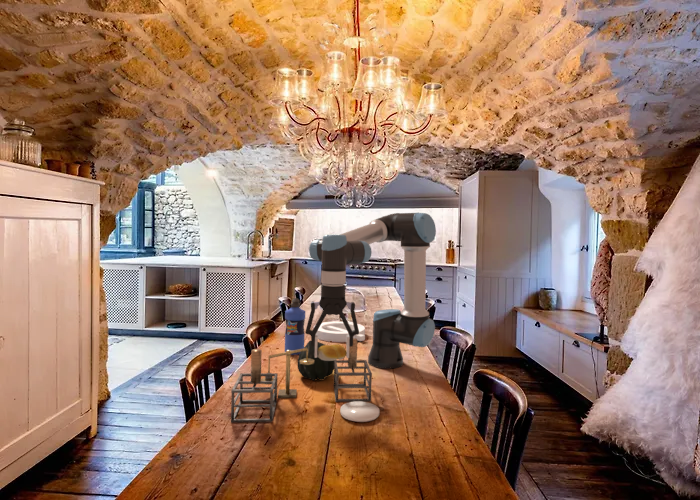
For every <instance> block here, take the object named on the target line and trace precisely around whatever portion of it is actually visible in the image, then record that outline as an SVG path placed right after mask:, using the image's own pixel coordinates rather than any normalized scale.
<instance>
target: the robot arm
mask: <svg viewBox="0 0 700 500" xmlns="http://www.w3.org/2000/svg"><path fill="white" fill-rule="evenodd" d="M432 217H433V216H431V215H430V214H429V213H426V212H425V213H424V212H404V213H403V212H402V213H400V212H395V213H389V214H387V215H384V216H381V217H378V218H376V219H373V220H371V221H370V222H369V224H366V225H363V226H360V227H357V228H355V229H351V230H348V231H346V232H343V233H341V234H324V235H323V236H322V238H319V239H314V240H312V241H311V243H310V244H309V248H308V252H309V256H310V258H311V259H312V260H315V261H318V262H321V271H320V272H321V275H320V276H321V277H320V280H321V281H320V283H321V284H322V285H321V287H320V299H319V301H311V303H310V313H309V318H308V321H307V325H306V328H305V331H304V333H305V334H306V335H310V338H311V339H310V340H311V346H315V358H317V343H318V342H319V341H318V340H319V339H318V334H316V333H317V331H318V329H319V327H320V325H321V323H324V320H325V318H326V317H327V315H328V316H331V315H335V316H338V315H339V317H340V319H341V322H343V323H344V325H345V327H346V329H347V331H348V333H349V335H347V342H345V345H346V348H345V350H346V356H345V358H347V359H348V358H349V346H353V336H354V335H356V334H357V335H358V334H359V329H358V325H357V324H358V321H357V316H356V311H355V308H356V304H355V302H354V301H351V302H350V301H347V300H346V286H345V284H346V283H347V282H346V281H347V277H346V276H347V265H361V264H364V263H367V262H368V261H369V260H370V259H371V257H372V248H371V244H374V243H383V242H400V247H401V249H403V251H404V253H403V254H404V257H403V259H404V262H403V263H404V266H403V269H404V271H403V272H404V274H403V275H404V277H403V278H404V279H403V280H404V281H403V286H404V287H403V290H404V291H403V293H404V294H403V295H404V297H403V309H402V310H401V309H398V308H395V309H391V308H389V309H387V308H386V309H380V310H376V311H375V312H374V313H373V319H372V325H373V327H372V345H371V349H370V351H369V354H368V358H367V363H368V365H370V366H371V367H375V368H381V369H396V368H397V369H398V368H401V367H402V366H403V365H404V357H403V354H402V353H403V352H402V350H401V347H400V344H405V345H409V346H411V347H418V348H419V347H420V348H425V347H427V346H429V344H430V343H431V341H432V340H433V337H434V335H435V330H436V324H435V321H434V320H433V319H432V318H430V312H429V311H428V310H427V309H426V302H427V301H426V289H427V288H426V287H427V286H426V285H427V284H426V278H427V277H426V276H427V272H426V271H427V270H426V269H427V268H426V267H427V250H428V249H429V248H430V246H431V245H430V244H431V243H433V242H434V241H435V239H436V238H435V237H436V234H437V228H436V227H437V226H436V223H435V220H434V219H433V218H432ZM319 307H320V308H321V309H322V311H321V314H320V316H319V318H318V320H317V321H316V324H314V326H315V327H314V326H313V329H311V327H312V325H313V320H314V317H315V313H316V310H317V309H318V308H319ZM346 307H347V309H348V310H350V311H349V312H350V316H351V321H352V323H353V325H354V330H353V331H352V330H351V328H350V326H349V324H348V322H349V321H348V320H347V318H346V316H345V314H344V312H343V311H344V309H345V308H346Z"/></svg>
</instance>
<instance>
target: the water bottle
mask: <svg viewBox="0 0 700 500" xmlns="http://www.w3.org/2000/svg"><path fill="white" fill-rule="evenodd" d="M284 312H285V313H284V319H285V332H284V352H286V351H287V350H290V351H294V350H298V349H303V348H304V347H305V334H306V333H305V327H304V326H305V321H306V320H305V319H306V310H304V309H302V308H301V303H300V299H299V298H297V297H296V298H293V299H292V300H291V303H290V308H289V309H286V310H285V311H284ZM300 353H301V352H297V353H293V354H291V355H290V356H299V355H298V354H300Z"/></svg>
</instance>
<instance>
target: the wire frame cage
mask: <svg viewBox="0 0 700 500" xmlns="http://www.w3.org/2000/svg"><path fill="white" fill-rule="evenodd" d="M250 353H251V355H250V357H251V358H250V359H251V360H250V361H251V362H250V372H249V373H247V372H246V373H240V374H239V376H238V378H237V379H236V381H235V383H234V385H233V387H232V389H231V399H230V401H231V402H230V404H231V405H230V406H231V408H230V414H231V415H230V424H231V423H233V424H234V423H235V424H236V423H273V420H274V415H275V411H276V409H277V408H276V406H277V404H278V373H275V372H274V373H272V372H270V373H268V372H266V373H262V354H263V353H262V349H260V348H254V349H251V352H250ZM265 376H272V377H273V378H274V379H273V381H261V379H262V377H265ZM244 377H250V380H249V381H248V380H244V379H243V378H244ZM246 384H247V385H253V386H249V387H248V386H246V387H245V386H244V385H246ZM259 384H260V385H271V386H259V387H258V386H257V385H259ZM238 386H239V389H238ZM244 393H245V394H246V393H247V394H248V393H251V394H253V393H254V394H255V393H256V394H259V393H262V394H263V393H265V394H266V393H270V394H269V399H243V394H244ZM235 394H236V396H235ZM238 399H239V402H238V404H236V402H237V401H238ZM267 407H268V408H269V418H236V417H237V416H238V413H239V412H240V408H267ZM235 408H236V409H235Z"/></svg>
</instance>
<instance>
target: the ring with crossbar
mask: <svg viewBox="0 0 700 500" xmlns="http://www.w3.org/2000/svg"><path fill="white" fill-rule="evenodd" d="M347 322H348V324H349V326H350V328H351V330H352V331H353V330H354V325H353V322H350V321H347ZM357 325H358V329H359V334H358V335H357V334H356V335H354V336H353V338H356V339H357V342H364V341H365V340H366V335H365V334H366V333H365V332H366V328H365V326H364V325H362V324H360V323H357ZM314 327H315V325H313V328H314ZM316 334H318V340H320V341H325V342H330V341H332V342H331V343H346V342H347V335H349V333H348V331H347V329H346V327H345V325H344V323H343V321H323V322H322V323H321V325H320V327H319V329H318V331H317V333H316Z"/></svg>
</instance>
